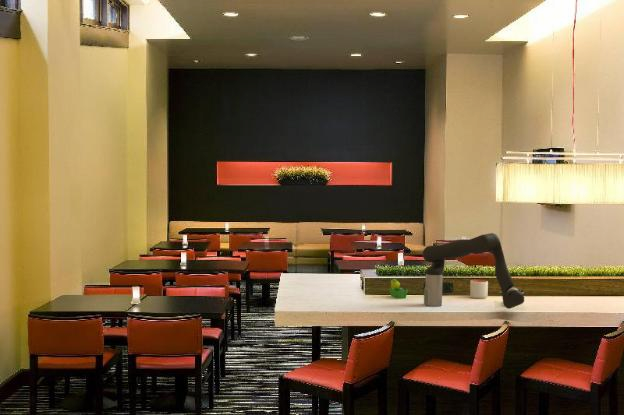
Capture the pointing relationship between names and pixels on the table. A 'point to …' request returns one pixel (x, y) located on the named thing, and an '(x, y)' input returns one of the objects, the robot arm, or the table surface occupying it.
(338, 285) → the table surface
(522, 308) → the mat
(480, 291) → the cup
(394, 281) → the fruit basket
